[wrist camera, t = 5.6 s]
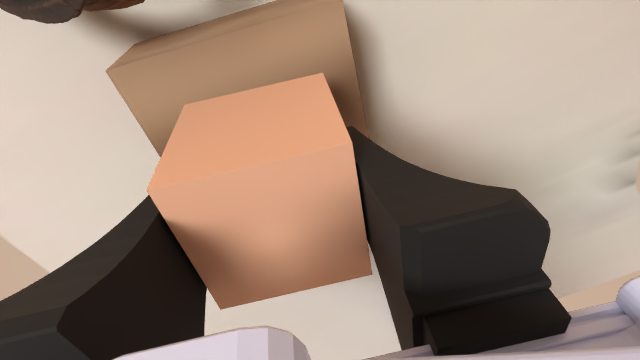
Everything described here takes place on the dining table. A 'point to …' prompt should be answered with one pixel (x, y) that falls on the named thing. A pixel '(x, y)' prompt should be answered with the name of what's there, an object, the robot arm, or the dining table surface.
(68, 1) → the pottery mug
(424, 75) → the dining table surface
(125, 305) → the robot arm
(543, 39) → the dining table surface
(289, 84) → the terracotta block
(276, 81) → the light tan wooden block
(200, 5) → the dining table surface
